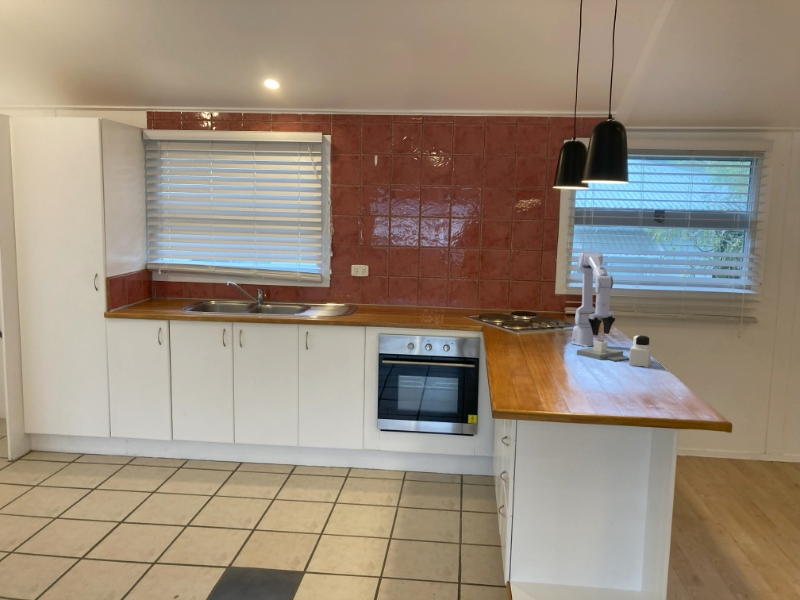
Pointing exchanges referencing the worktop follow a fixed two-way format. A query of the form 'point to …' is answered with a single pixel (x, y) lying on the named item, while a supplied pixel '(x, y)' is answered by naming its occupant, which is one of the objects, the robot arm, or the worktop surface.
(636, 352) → the medicine bottle
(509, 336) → the worktop surface
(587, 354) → the plate
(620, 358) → the phone
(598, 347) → the charger
